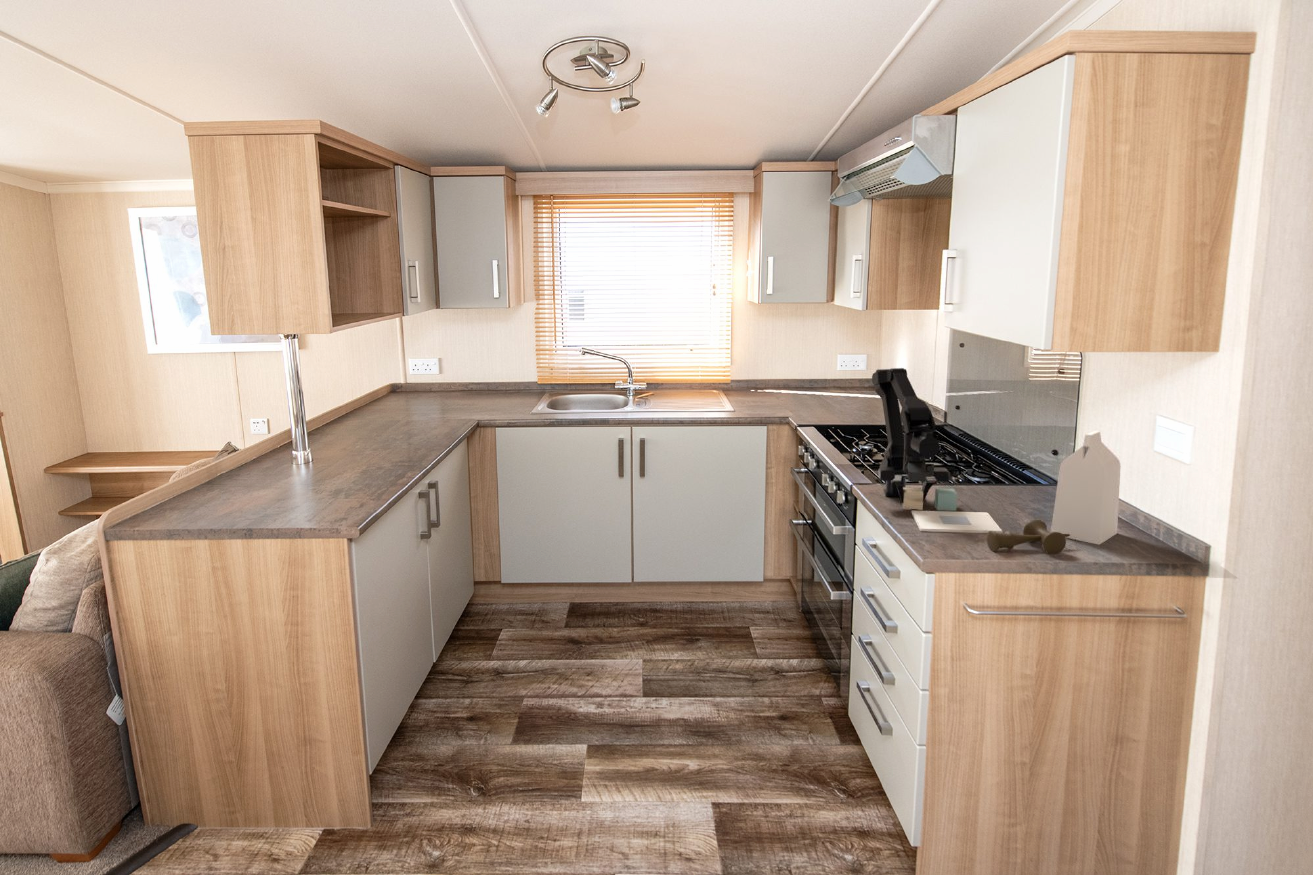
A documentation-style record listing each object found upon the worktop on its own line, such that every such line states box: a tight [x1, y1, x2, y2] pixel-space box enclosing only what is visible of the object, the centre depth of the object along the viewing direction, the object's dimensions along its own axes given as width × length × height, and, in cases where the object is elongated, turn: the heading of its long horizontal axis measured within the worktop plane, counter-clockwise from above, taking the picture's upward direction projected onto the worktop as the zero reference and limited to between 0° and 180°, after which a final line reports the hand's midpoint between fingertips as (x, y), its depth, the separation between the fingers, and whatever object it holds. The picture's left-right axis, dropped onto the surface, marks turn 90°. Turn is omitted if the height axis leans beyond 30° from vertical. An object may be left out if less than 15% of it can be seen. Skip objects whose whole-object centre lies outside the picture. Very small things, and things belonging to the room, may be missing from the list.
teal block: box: [934, 488, 958, 512], centre depth 227 cm, size 5×5×5 cm
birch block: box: [901, 487, 924, 511], centre depth 228 cm, size 5×5×5 cm
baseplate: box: [911, 510, 1003, 534], centre depth 214 cm, size 16×20×1 cm
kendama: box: [986, 519, 1070, 555], centre depth 193 cm, size 6×10×20 cm
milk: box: [1050, 430, 1121, 545], centre depth 201 cm, size 12×12×26 cm
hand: (912, 503), depth 229 cm, fingers closed on birch block, 5 cm apart
